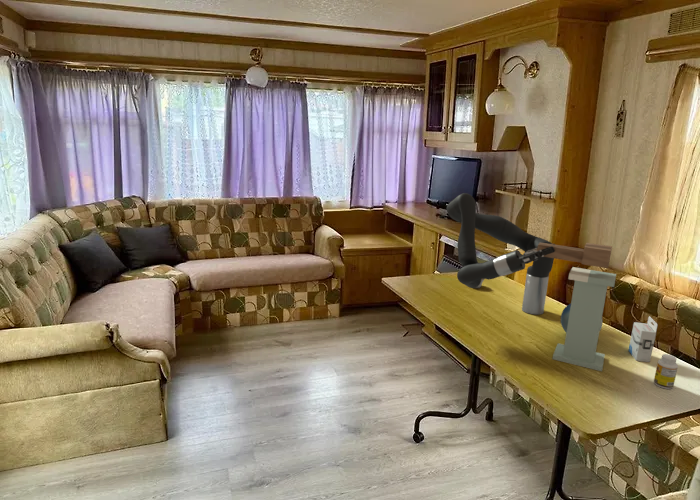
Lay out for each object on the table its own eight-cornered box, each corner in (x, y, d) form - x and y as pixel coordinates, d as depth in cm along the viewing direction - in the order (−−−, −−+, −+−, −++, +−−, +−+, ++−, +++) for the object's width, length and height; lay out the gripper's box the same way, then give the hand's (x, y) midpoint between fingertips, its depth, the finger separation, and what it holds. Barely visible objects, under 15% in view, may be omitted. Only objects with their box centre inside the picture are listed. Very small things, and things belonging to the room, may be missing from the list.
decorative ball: (595, 333, 201) (601, 298, 197) (602, 348, 186) (609, 311, 183) (555, 328, 204) (561, 293, 201) (560, 342, 190) (566, 306, 187)
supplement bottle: (654, 379, 165) (660, 351, 162) (674, 385, 161) (680, 356, 159) (651, 385, 161) (657, 356, 158) (671, 391, 157) (678, 362, 155)
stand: (557, 346, 186) (569, 265, 178) (604, 357, 179) (619, 273, 171) (552, 359, 176) (565, 273, 168) (601, 371, 169) (618, 282, 161)
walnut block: (539, 252, 181) (541, 236, 179) (609, 263, 170) (612, 246, 168) (535, 256, 174) (537, 240, 173) (607, 268, 163) (611, 250, 162)
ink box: (627, 350, 186) (634, 314, 182) (641, 352, 185) (649, 315, 181) (635, 360, 178) (643, 322, 174) (650, 362, 177) (658, 324, 173)
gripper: (500, 258, 177) (547, 241, 168) (509, 250, 189) (553, 234, 180) (508, 277, 177) (556, 261, 168) (517, 268, 189) (562, 253, 180)
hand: (554, 247), depth 174 cm, fingers closed on walnut block, 4 cm apart
